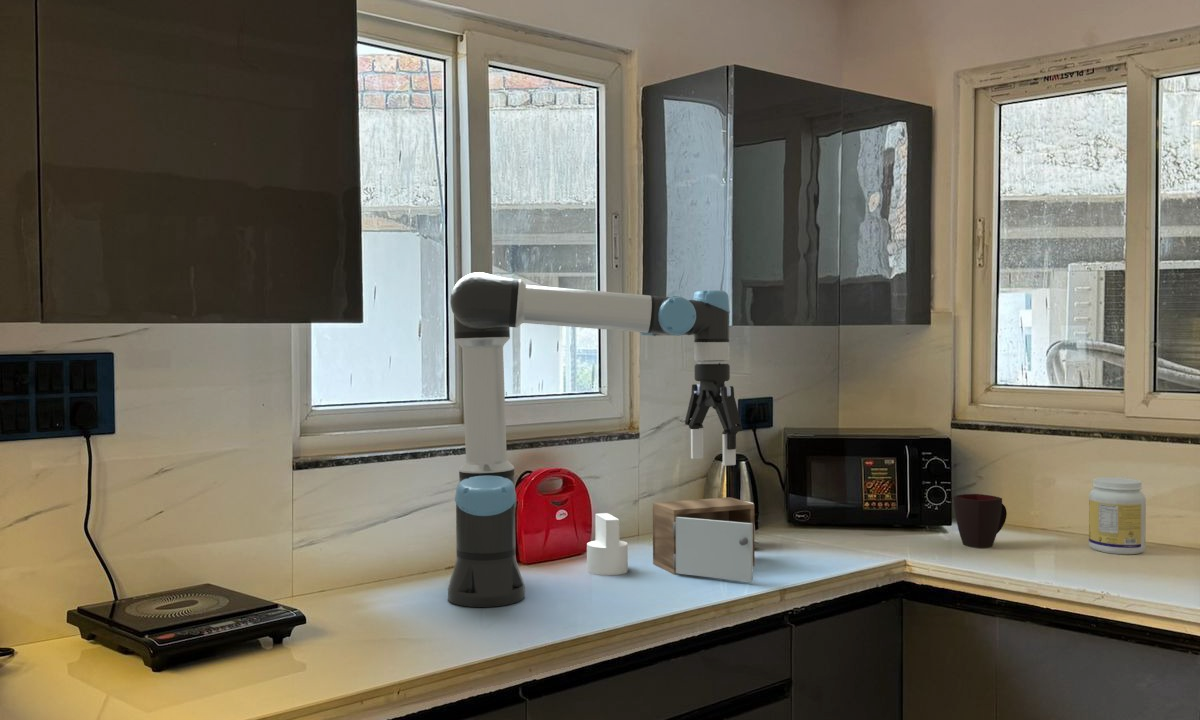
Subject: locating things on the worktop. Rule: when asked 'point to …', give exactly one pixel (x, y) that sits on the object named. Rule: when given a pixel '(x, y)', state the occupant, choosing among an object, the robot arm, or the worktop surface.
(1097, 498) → the supplement tub
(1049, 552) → the worktop surface
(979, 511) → the mug
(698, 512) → the cabinet
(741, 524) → the door
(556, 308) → the robot arm
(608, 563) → the base with upright slab
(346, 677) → the worktop surface
